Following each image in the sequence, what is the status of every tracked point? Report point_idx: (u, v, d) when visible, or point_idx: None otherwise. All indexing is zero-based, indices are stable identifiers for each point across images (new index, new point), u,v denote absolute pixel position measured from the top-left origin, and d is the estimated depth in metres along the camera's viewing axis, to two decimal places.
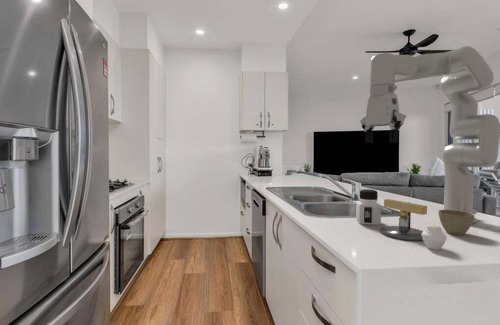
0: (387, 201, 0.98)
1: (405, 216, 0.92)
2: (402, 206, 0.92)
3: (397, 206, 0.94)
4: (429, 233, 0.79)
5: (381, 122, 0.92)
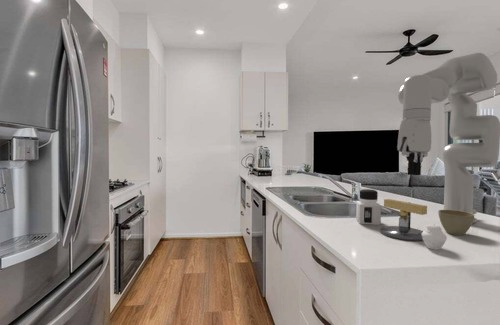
0: (387, 201, 0.98)
1: (405, 216, 0.92)
2: (402, 206, 0.92)
3: (397, 206, 0.94)
4: (429, 233, 0.79)
5: (425, 150, 0.86)
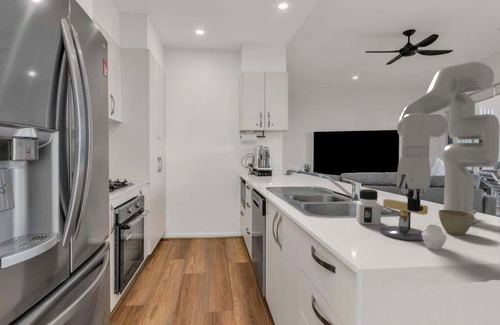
0: (387, 201, 0.98)
1: (405, 216, 0.92)
2: (403, 206, 0.92)
3: (397, 206, 0.94)
4: (429, 233, 0.79)
5: (424, 186, 0.86)
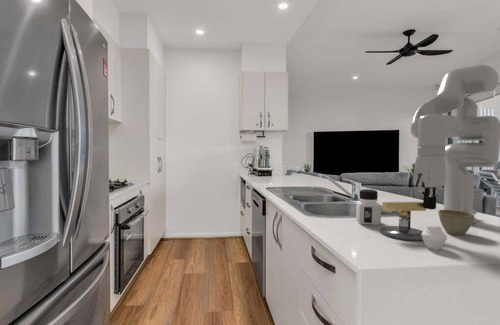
0: (390, 204, 0.92)
1: (407, 216, 0.93)
2: (407, 207, 0.92)
3: (401, 207, 0.92)
4: (429, 233, 0.79)
5: (440, 185, 0.90)
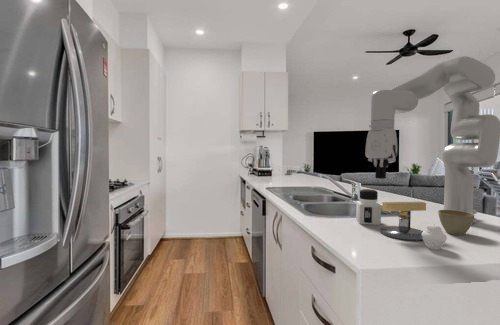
0: (390, 204, 0.92)
1: (407, 216, 0.93)
2: (407, 207, 0.92)
3: (402, 207, 0.92)
4: (429, 233, 0.79)
5: None
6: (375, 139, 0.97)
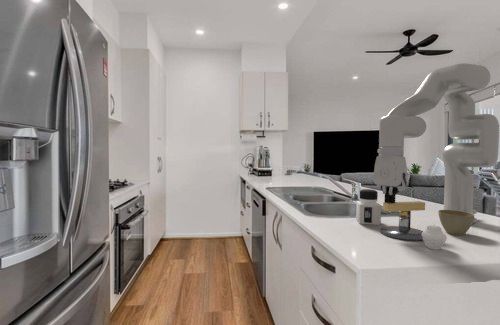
0: (391, 205, 0.91)
1: (407, 215, 0.93)
2: (407, 207, 0.92)
3: (402, 207, 0.92)
4: (429, 233, 0.79)
5: None
6: (384, 166, 0.93)
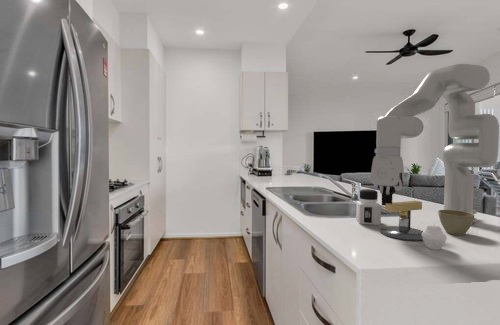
0: (395, 205, 0.90)
1: None
2: (408, 207, 0.92)
3: (403, 207, 0.92)
4: (429, 233, 0.79)
5: None
6: (381, 166, 0.95)
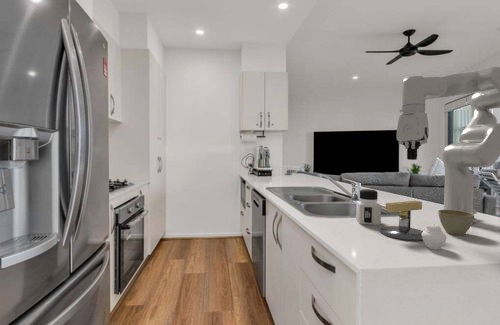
0: (395, 205, 0.90)
1: None
2: (408, 207, 0.92)
3: (403, 207, 0.92)
4: (429, 233, 0.79)
5: None
6: (407, 123, 1.03)
